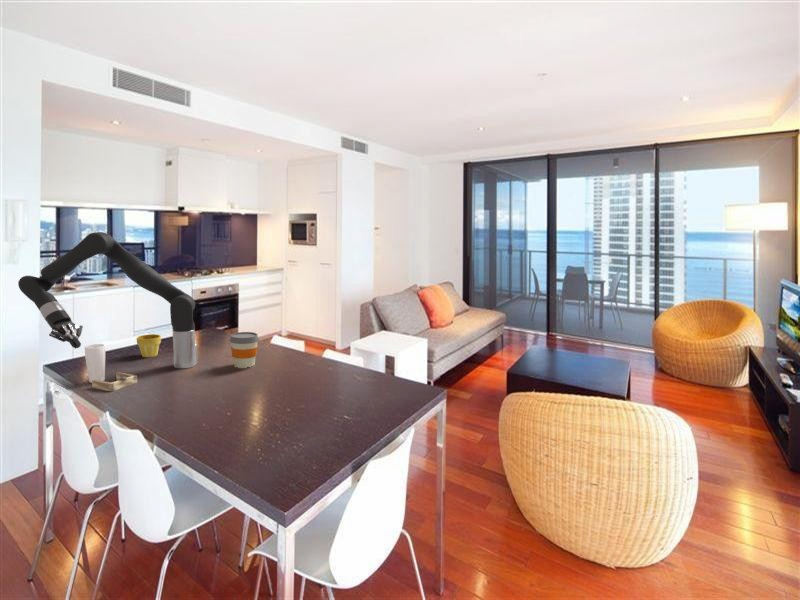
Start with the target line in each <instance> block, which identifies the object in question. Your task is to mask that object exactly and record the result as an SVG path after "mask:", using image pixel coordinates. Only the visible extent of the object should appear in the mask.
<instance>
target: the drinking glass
mask: <svg viewBox="0 0 800 600" xmlns="http://www.w3.org/2000/svg"><path fill="white" fill-rule="evenodd" d="M84 357H85V362H86V369H87V375H88V382H89V383H91V384H92V380H100V381H105V379H106V375H105V373H106V345H105V344H103V343H102V344H101V343H95V344H89V345H86V346H84Z"/></svg>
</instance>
